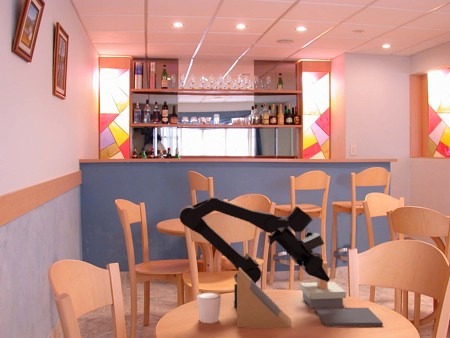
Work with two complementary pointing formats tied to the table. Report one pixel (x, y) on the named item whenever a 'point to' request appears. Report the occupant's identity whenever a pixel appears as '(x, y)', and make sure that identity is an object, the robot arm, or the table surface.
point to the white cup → (208, 307)
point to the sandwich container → (257, 306)
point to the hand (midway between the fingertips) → (324, 276)
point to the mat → (347, 317)
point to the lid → (322, 288)
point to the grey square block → (323, 302)
